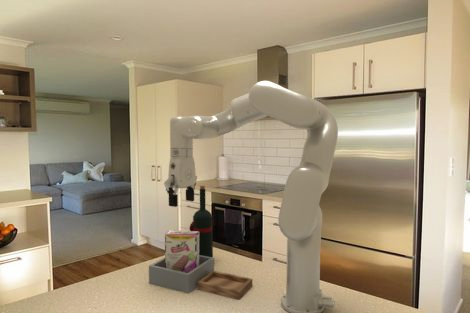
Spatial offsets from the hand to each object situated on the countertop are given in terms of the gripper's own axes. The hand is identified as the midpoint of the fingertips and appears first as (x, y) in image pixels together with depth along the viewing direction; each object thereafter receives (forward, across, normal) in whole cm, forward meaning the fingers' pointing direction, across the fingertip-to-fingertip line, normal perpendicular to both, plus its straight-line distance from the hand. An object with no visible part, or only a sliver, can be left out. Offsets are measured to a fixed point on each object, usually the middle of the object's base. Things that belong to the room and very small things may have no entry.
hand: (181, 203), depth 115 cm
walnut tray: (+26, 0, -17) cm, 31 cm away
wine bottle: (+27, +16, +3) cm, 31 cm away
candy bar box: (+27, 0, 0) cm, 27 cm away
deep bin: (+26, 0, 0) cm, 26 cm away
